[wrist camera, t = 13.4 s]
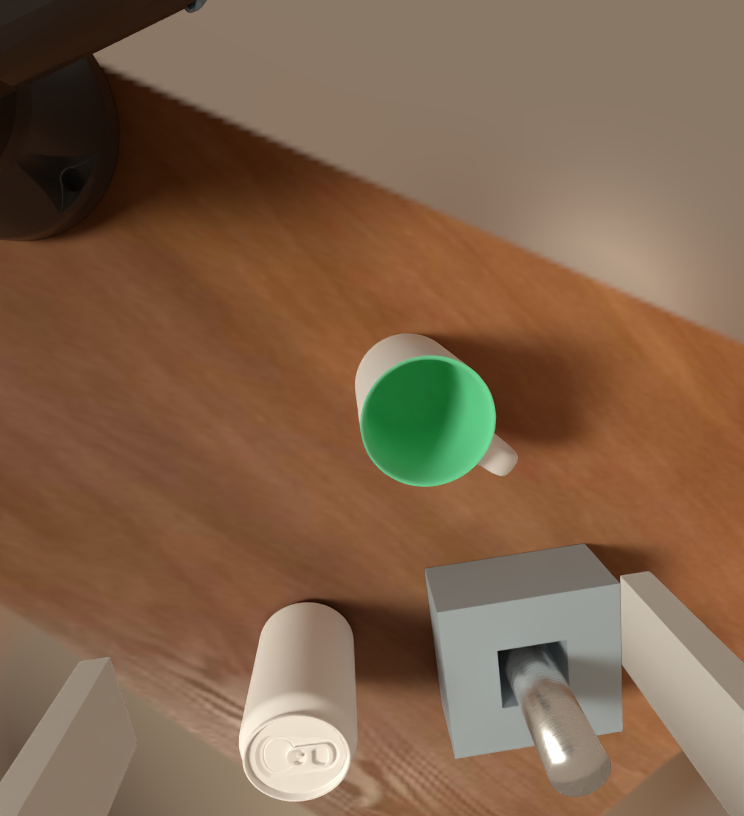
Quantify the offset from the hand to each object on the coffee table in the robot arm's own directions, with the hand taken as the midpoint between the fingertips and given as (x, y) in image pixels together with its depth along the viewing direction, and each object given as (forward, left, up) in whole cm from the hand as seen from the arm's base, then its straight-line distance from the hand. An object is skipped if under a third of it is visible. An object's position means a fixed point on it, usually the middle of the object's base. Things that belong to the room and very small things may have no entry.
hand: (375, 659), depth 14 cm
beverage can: (+21, -7, -29) cm, 36 cm away
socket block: (+23, +11, -29) cm, 38 cm away
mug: (+1, +6, -29) cm, 30 cm away
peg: (+23, +11, -28) cm, 38 cm away
